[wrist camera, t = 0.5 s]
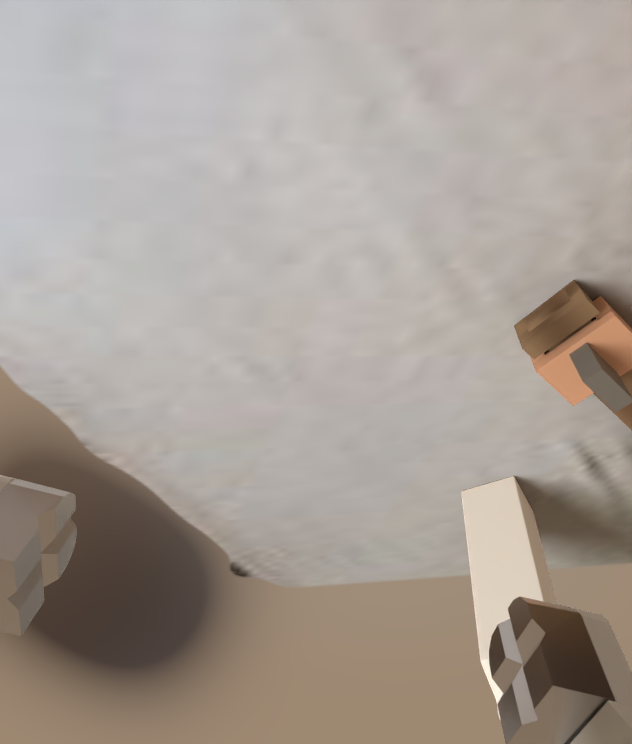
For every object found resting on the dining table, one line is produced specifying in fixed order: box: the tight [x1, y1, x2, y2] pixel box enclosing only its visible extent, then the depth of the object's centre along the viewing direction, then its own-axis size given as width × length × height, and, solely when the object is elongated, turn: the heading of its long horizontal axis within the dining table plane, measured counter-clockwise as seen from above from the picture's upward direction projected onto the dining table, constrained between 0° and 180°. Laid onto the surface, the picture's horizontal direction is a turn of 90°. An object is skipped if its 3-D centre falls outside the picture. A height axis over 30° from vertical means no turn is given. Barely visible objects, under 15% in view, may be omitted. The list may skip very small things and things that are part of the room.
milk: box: [461, 476, 557, 720], centre depth 48 cm, size 6×6×22 cm
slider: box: [530, 296, 632, 412], centre depth 42 cm, size 7×5×8 cm
